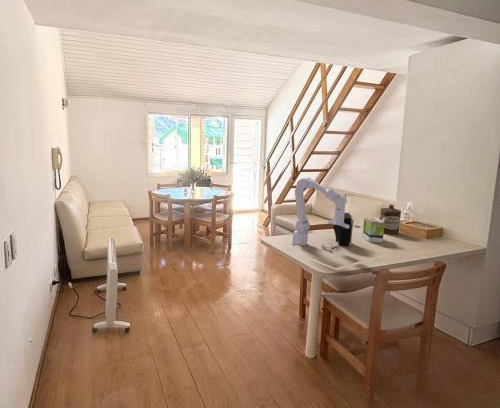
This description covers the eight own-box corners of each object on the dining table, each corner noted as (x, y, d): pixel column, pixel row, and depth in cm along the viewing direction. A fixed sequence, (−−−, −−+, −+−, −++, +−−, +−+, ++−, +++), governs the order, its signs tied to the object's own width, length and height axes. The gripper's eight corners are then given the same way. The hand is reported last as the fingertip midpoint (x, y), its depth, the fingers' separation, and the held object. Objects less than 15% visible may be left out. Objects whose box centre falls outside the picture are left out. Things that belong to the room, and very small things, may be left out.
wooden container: (381, 234, 264) (385, 206, 261) (375, 229, 279) (378, 202, 275) (401, 235, 264) (405, 207, 260) (394, 230, 279) (397, 203, 275)
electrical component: (351, 248, 225) (354, 218, 221) (335, 247, 227) (338, 217, 223) (349, 241, 242) (352, 213, 238) (334, 240, 244) (337, 212, 240)
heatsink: (317, 249, 219) (317, 245, 219) (331, 246, 227) (331, 242, 226) (330, 254, 211) (331, 250, 210) (344, 251, 218) (345, 246, 218)
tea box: (383, 242, 242) (385, 222, 239) (368, 242, 242) (370, 221, 239) (375, 237, 256) (377, 217, 254) (362, 236, 256) (364, 216, 254)
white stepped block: (324, 249, 216) (324, 244, 216) (327, 248, 218) (327, 244, 217) (328, 251, 213) (329, 246, 213) (331, 250, 215) (331, 245, 214)
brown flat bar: (322, 248, 218) (322, 246, 217) (333, 246, 224) (333, 244, 224) (326, 250, 215) (326, 248, 215) (337, 247, 221) (337, 245, 221)
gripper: (325, 213, 214) (324, 235, 217) (344, 218, 203) (342, 241, 205) (333, 212, 218) (331, 233, 221) (352, 217, 207) (350, 239, 209)
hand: (337, 237), depth 213 cm, fingers closed
